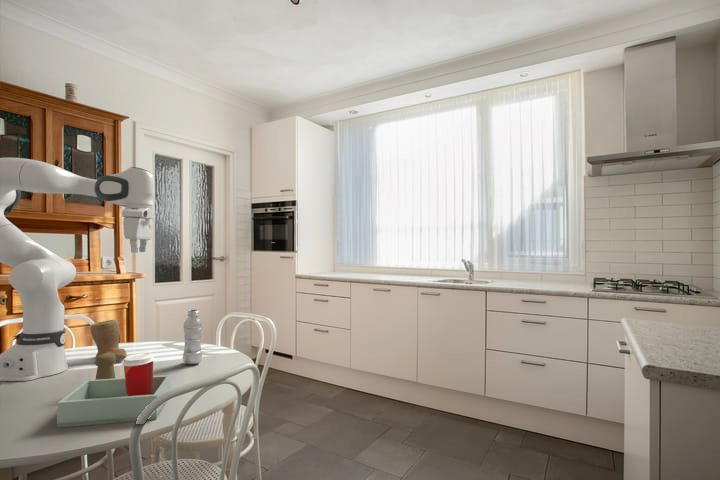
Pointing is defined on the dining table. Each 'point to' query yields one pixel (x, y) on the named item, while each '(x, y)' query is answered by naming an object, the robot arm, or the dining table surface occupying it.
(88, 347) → the dining table surface
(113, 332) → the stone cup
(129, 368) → the paper cup
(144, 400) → the pale green tray
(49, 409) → the dining table surface
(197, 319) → the plastic bottle
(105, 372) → the cork
